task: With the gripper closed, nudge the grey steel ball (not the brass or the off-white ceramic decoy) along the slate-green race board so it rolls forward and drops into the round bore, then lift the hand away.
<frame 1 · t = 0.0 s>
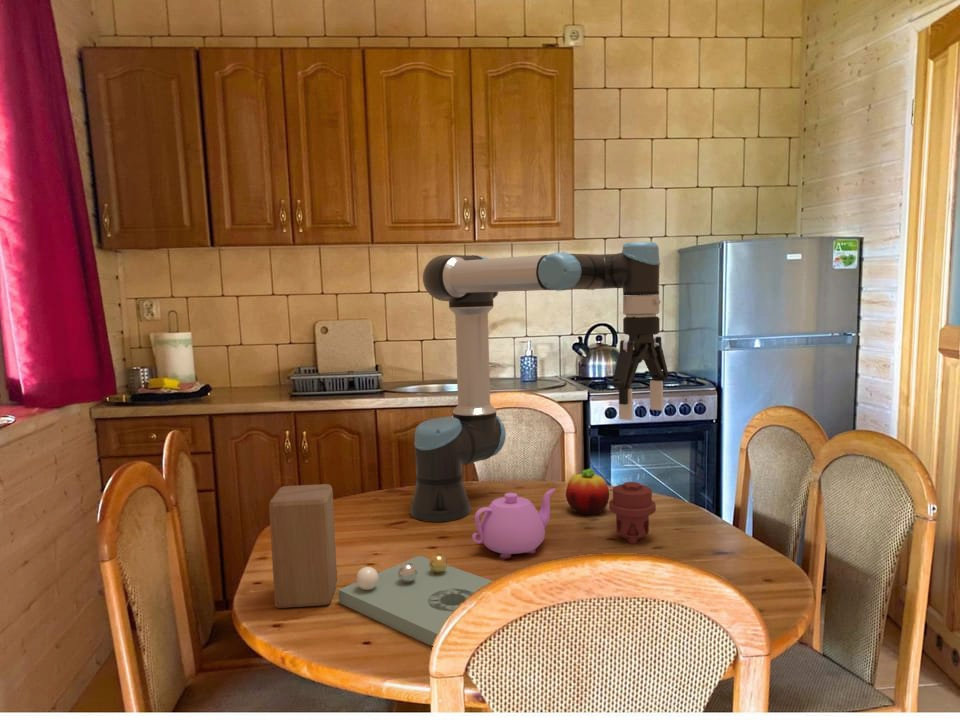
hand: (641, 414, 145), 28 cm above the table, fingers open, 13 cm apart
mechanical component: (632, 539, 149), on the table
fruit: (587, 511, 168), on the table
wooden block: (307, 597, 125), on the table
race board: (429, 603, 121), on the table
steel ball: (407, 572, 124), point 4 cm above the table, touching race board
teapot: (516, 549, 145), on the table
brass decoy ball: (438, 563, 128), point 4 cm above the table, touching race board
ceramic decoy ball: (367, 578, 121), point 4 cm above the table, touching race board
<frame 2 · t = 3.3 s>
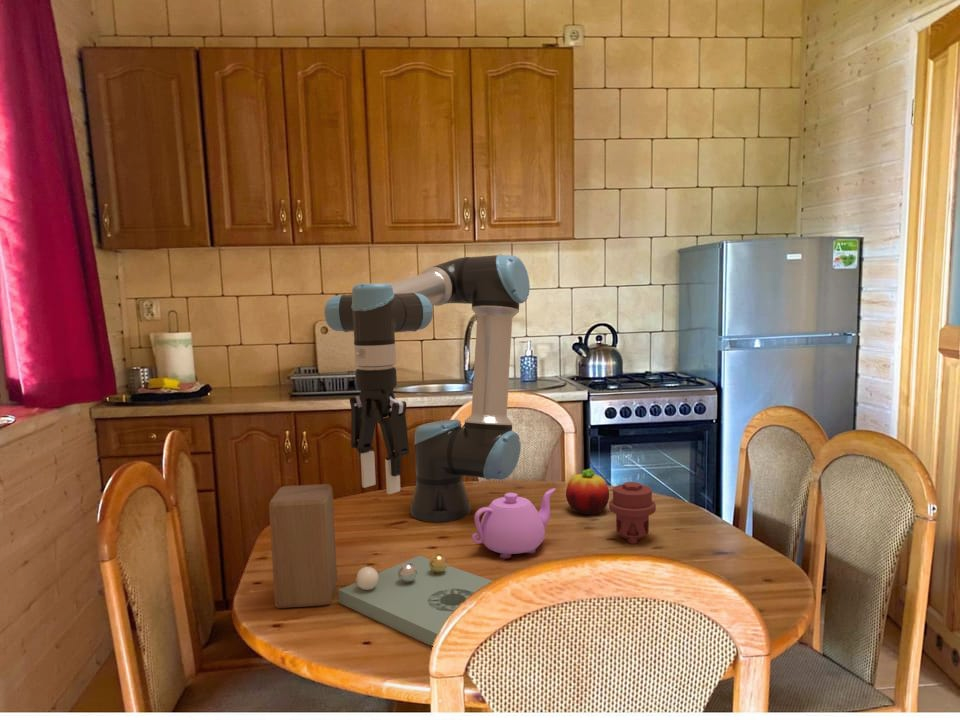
hand: (381, 488, 127), 19 cm above the table, fingers open, 6 cm apart
nothing on the table moved.
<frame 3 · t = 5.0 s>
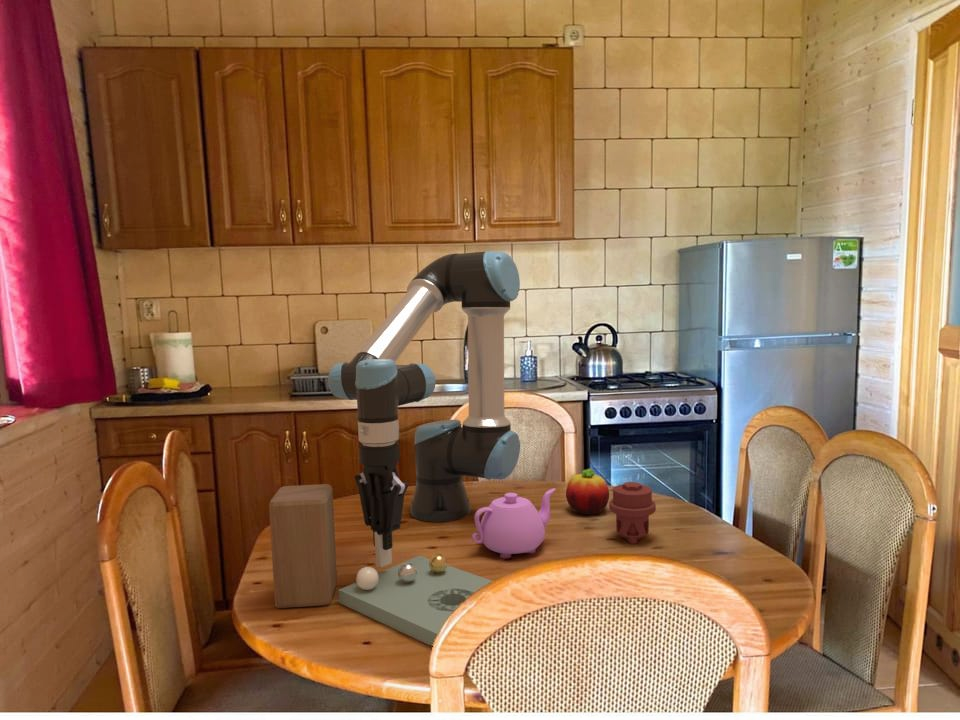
hand: (383, 564, 128), 4 cm above the table, fingers closed
nothing on the table moved.
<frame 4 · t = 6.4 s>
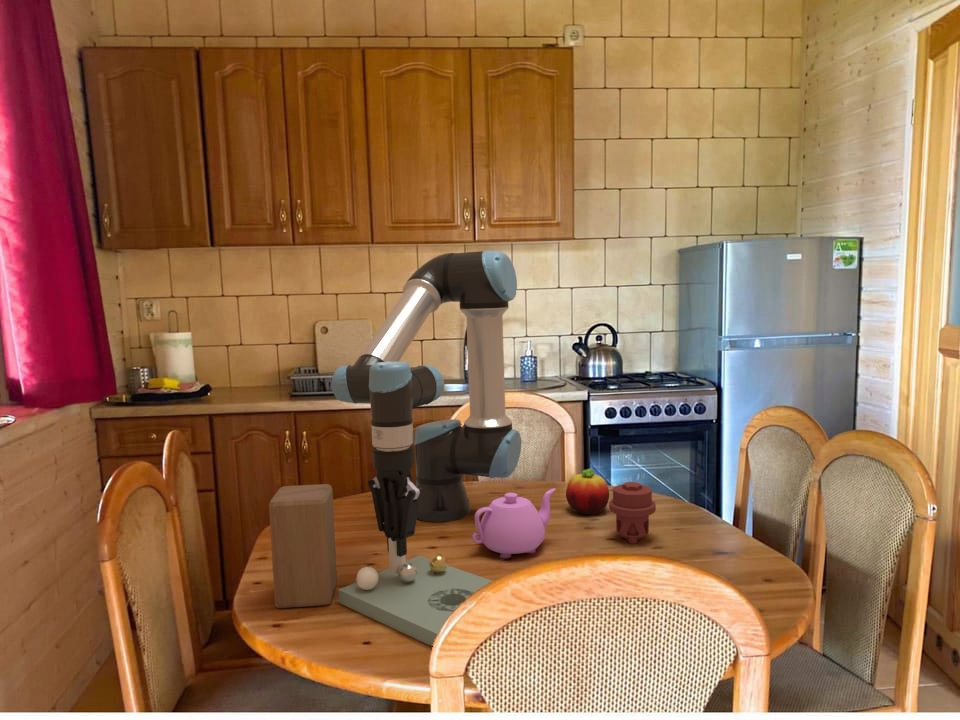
hand: (397, 570, 125), 4 cm above the table, fingers closed
steel ball: (407, 572, 124), point 4 cm above the table, touching gripper, race board
everything else where it was.
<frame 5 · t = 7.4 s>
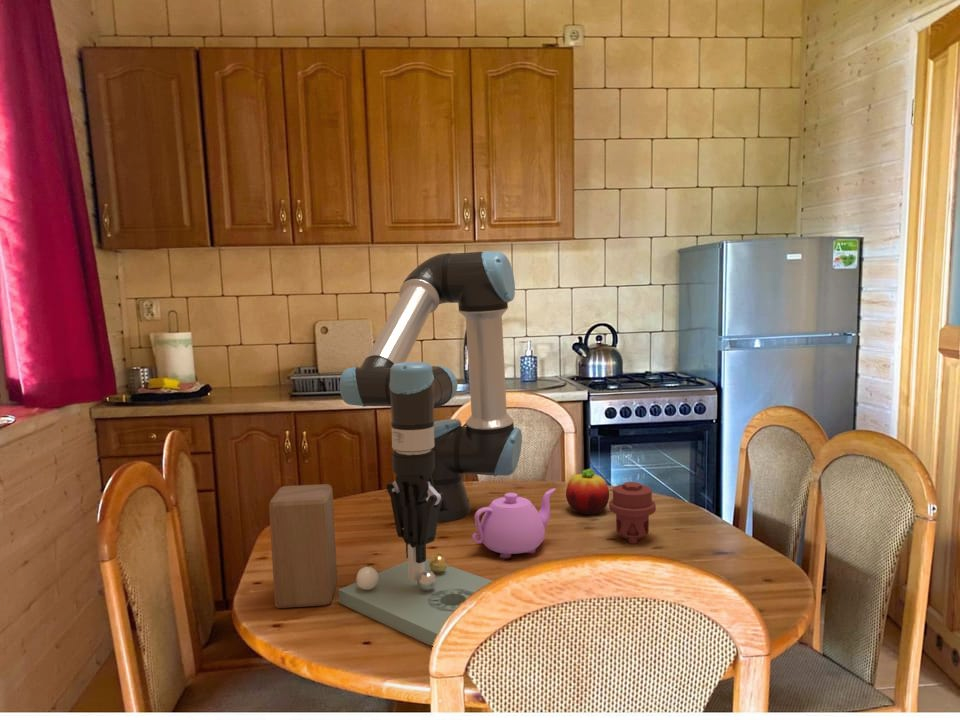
hand: (416, 578, 121), 4 cm above the table, fingers closed
steel ball: (426, 580, 120), point 4 cm above the table, tilted 163°, touching gripper, race board
everything else where it was.
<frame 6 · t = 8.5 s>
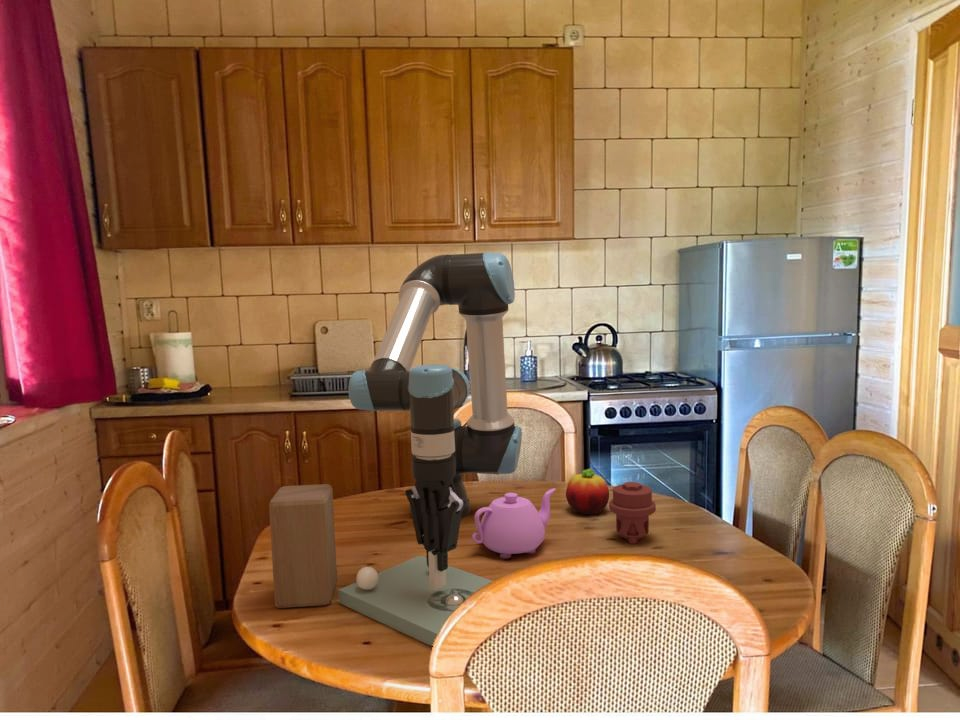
hand: (438, 586, 118), 4 cm above the table, fingers closed
steel ball: (454, 604, 116), point 2 cm above the table, tilted 65°
everything else where it was.
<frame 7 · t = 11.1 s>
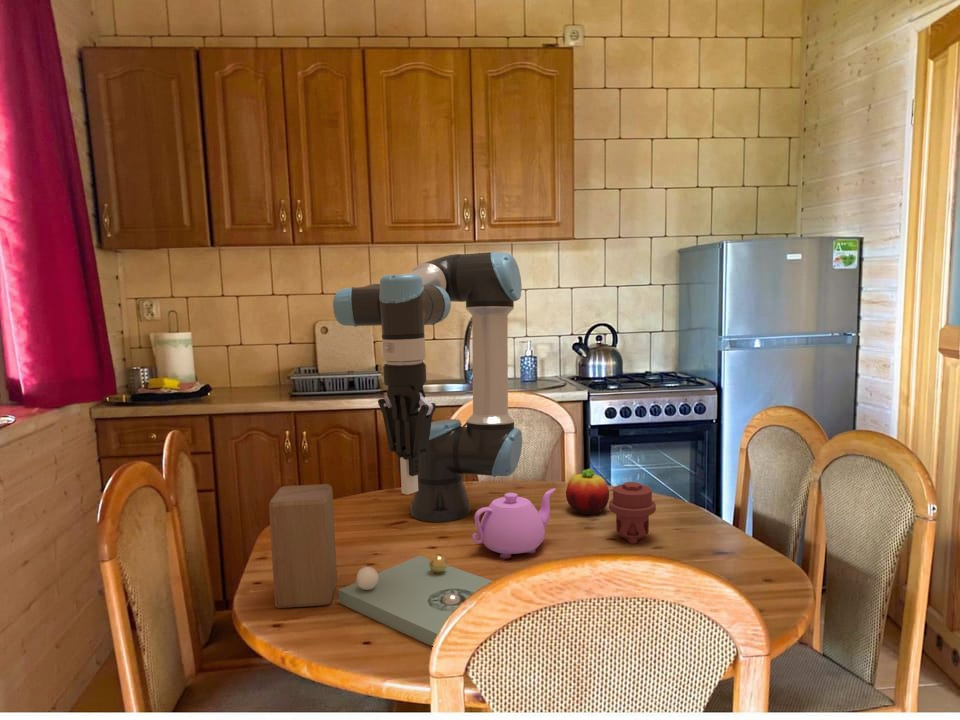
hand: (410, 491, 121), 20 cm above the table, fingers closed
steel ball: (451, 603, 117), point 2 cm above the table, tilted 41°
everything else where it was.
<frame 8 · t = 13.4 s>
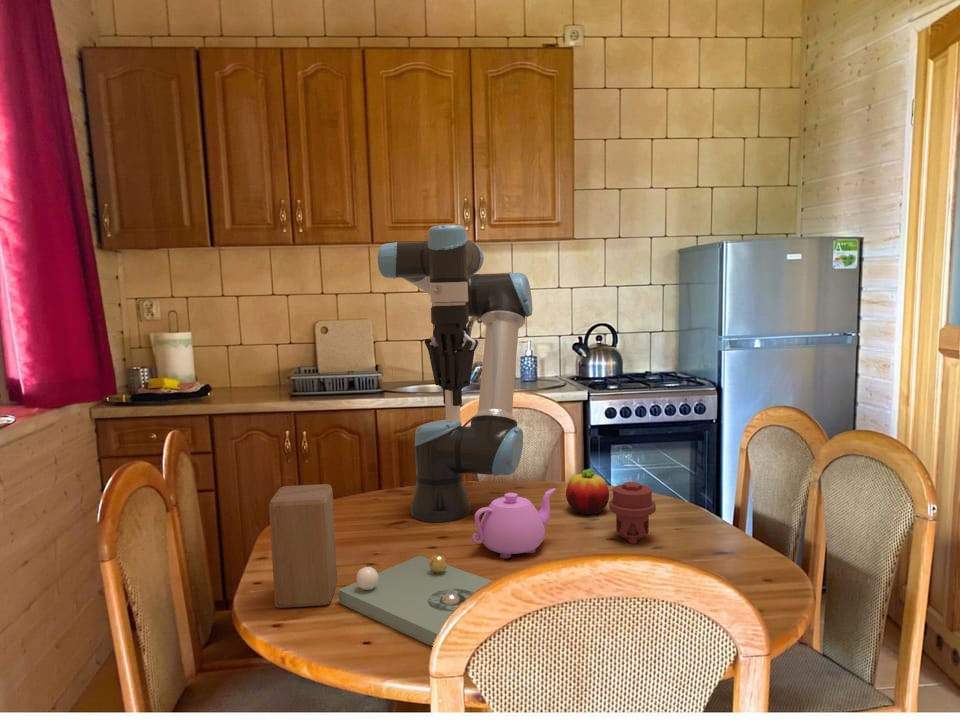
hand: (453, 421, 136), 29 cm above the table, fingers closed
steel ball: (450, 603, 117), point 2 cm above the table, tilted 35°
everything else where it was.
at the end: steel ball 0.5 cm from the target spot in the race board, point 1.7 cm above the race board's base; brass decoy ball point 4.2 cm above the table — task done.
